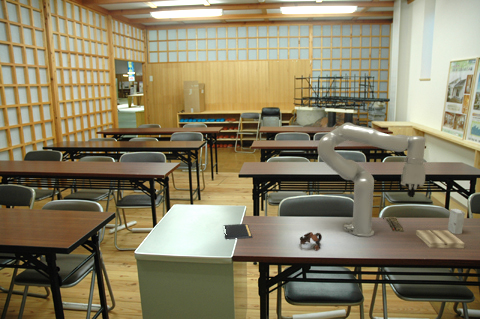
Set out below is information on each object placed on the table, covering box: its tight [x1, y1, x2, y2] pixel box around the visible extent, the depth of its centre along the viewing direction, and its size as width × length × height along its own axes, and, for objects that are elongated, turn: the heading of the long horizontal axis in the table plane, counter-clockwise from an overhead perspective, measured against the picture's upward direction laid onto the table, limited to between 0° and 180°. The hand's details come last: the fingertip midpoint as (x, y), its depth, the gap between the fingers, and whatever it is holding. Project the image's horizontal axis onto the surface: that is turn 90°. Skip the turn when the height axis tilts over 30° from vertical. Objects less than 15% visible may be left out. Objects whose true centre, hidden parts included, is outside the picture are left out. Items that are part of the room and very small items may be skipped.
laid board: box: [430, 229, 466, 249], centre depth 179 cm, size 9×16×2 cm, turn 176°
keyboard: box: [382, 216, 405, 233], centre depth 202 cm, size 22×9×2 cm, turn 168°
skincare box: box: [447, 208, 466, 235], centre depth 189 cm, size 6×4×12 cm
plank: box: [415, 229, 448, 249], centre depth 179 cm, size 8×16×2 cm, turn 176°
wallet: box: [223, 223, 254, 240], centre depth 195 cm, size 20×2×15 cm
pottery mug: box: [299, 232, 323, 252], centre depth 176 cm, size 12×10×8 cm
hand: (410, 196), depth 179 cm, fingers closed
